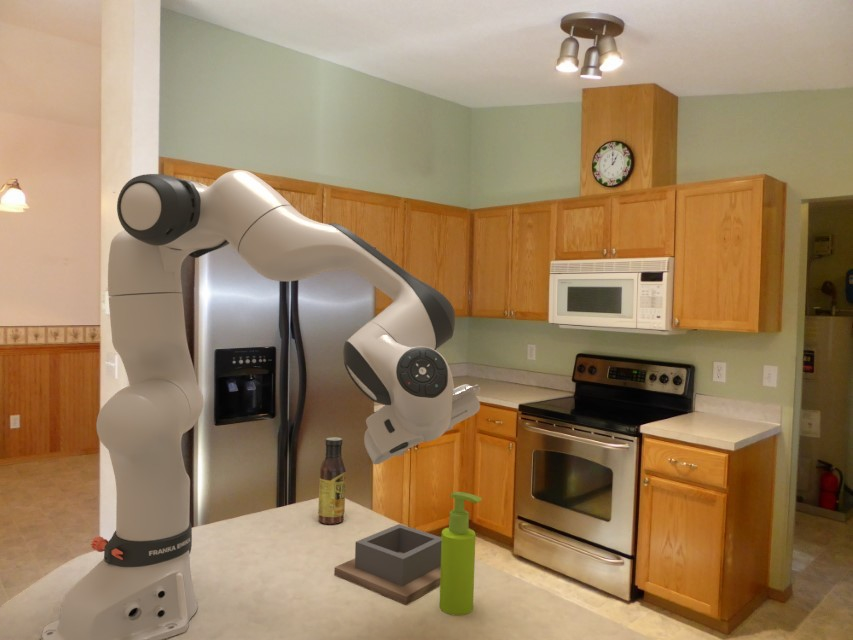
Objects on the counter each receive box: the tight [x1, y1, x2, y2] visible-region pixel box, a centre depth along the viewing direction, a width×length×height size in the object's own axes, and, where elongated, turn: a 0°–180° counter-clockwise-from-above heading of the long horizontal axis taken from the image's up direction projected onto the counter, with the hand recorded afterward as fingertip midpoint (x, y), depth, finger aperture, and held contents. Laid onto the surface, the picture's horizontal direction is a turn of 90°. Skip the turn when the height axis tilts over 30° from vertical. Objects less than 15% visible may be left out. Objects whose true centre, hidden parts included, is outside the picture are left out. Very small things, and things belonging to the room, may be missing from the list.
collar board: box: [333, 523, 442, 606], centre depth 118 cm, size 18×18×6 cm
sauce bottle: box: [317, 436, 347, 525], centre depth 146 cm, size 7×6×20 cm
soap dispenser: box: [439, 491, 483, 616], centre depth 105 cm, size 6×7×20 cm
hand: (423, 438), depth 106 cm, fingers open, 8 cm apart
